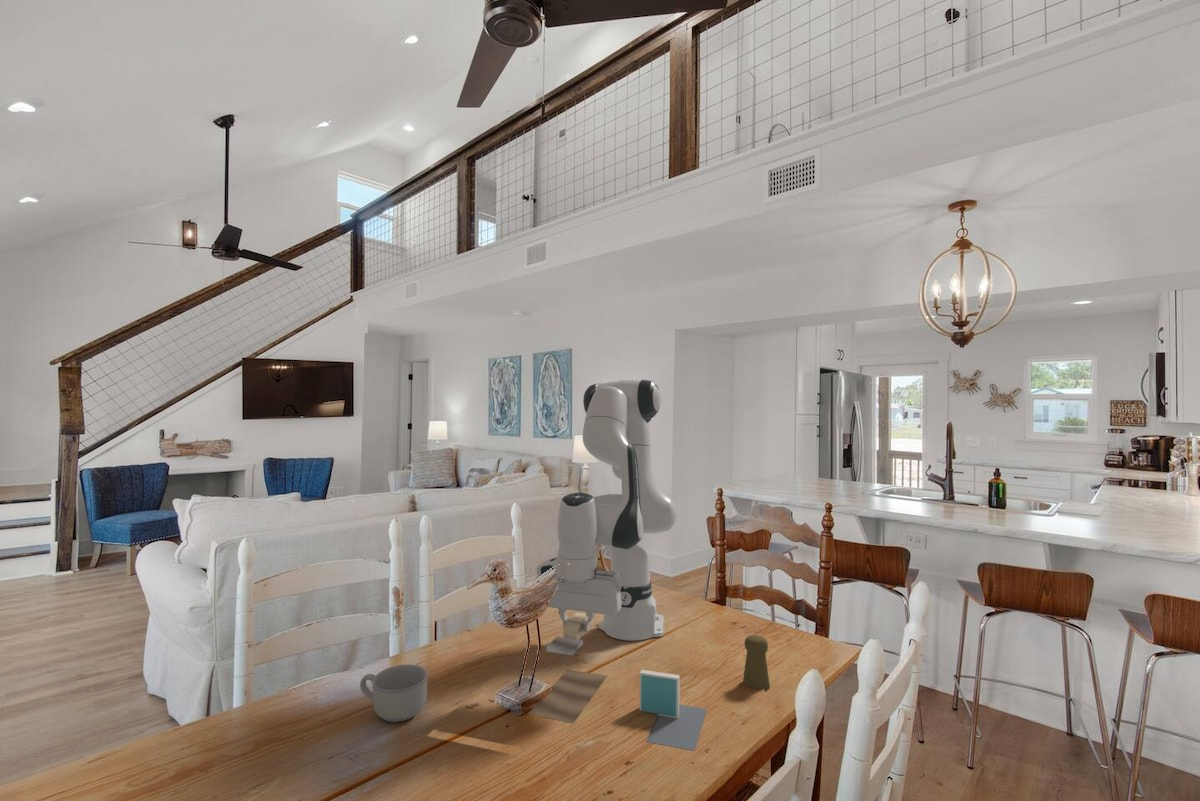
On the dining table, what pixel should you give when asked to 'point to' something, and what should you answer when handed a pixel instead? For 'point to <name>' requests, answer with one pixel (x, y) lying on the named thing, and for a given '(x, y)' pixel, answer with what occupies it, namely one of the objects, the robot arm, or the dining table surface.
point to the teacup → (397, 691)
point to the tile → (660, 693)
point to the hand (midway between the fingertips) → (576, 629)
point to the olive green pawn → (756, 663)
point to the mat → (678, 728)
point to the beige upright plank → (569, 636)
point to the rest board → (568, 696)
